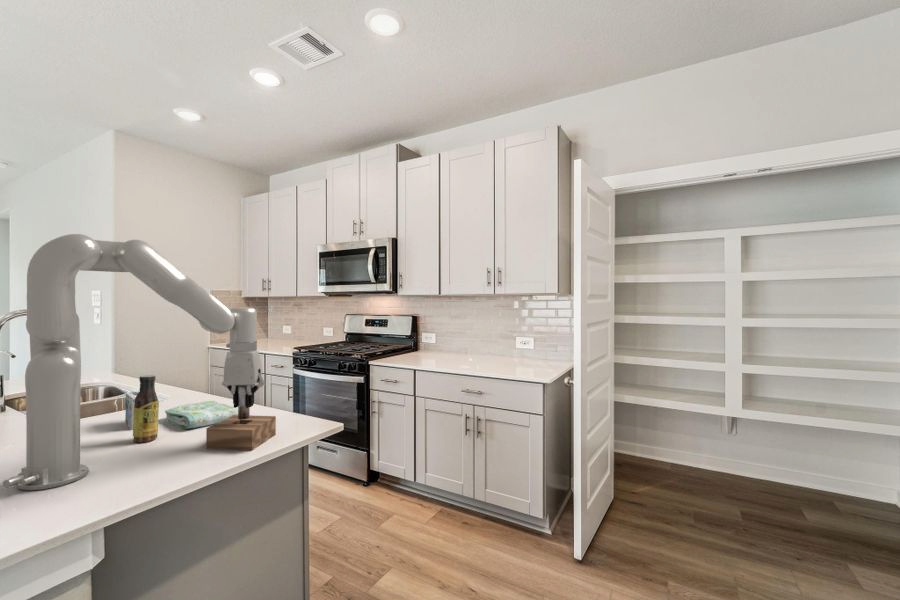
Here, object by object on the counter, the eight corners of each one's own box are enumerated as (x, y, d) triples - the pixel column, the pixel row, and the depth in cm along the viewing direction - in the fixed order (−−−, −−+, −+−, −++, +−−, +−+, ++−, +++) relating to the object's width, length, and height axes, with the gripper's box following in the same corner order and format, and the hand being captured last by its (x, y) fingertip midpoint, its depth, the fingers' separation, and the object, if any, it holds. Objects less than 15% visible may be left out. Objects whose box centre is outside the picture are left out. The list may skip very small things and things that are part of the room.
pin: (245, 419, 128) (245, 380, 128) (235, 419, 128) (235, 380, 128) (251, 416, 131) (251, 378, 131) (241, 416, 131) (241, 378, 131)
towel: (215, 410, 165) (215, 397, 165) (242, 420, 152) (242, 406, 152) (162, 420, 150) (162, 406, 150) (187, 433, 138) (187, 417, 138)
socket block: (252, 450, 122) (252, 430, 122) (206, 448, 123) (206, 428, 123) (275, 434, 136) (275, 416, 136) (234, 433, 137) (234, 414, 137)
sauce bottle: (144, 444, 126) (145, 378, 126) (127, 442, 127) (127, 377, 127) (163, 437, 132) (164, 374, 132) (147, 435, 133) (147, 373, 133)
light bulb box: (124, 423, 146) (124, 392, 146) (148, 419, 151) (148, 389, 151) (131, 430, 138) (131, 398, 138) (155, 426, 143) (155, 394, 143)
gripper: (210, 348, 126) (210, 409, 126) (262, 349, 125) (263, 410, 125) (225, 345, 134) (225, 402, 134) (275, 346, 132) (275, 404, 133)
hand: (243, 406), depth 129 cm, fingers closed on pin, 3 cm apart
